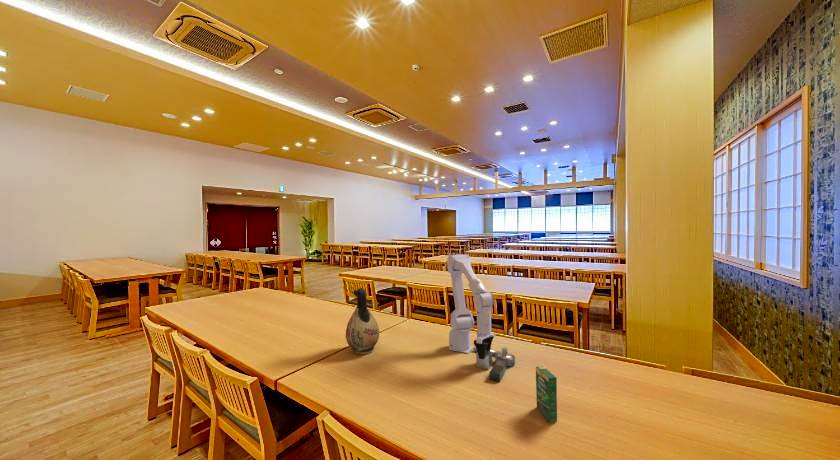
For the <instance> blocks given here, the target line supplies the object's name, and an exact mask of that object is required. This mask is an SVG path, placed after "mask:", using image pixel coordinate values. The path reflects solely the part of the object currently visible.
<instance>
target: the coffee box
mask: <svg viewBox="0 0 840 460" xmlns="http://www.w3.org/2000/svg"><path fill="white" fill-rule="evenodd" d="M557 380H558V379H557V376H555V374H553V373H552V372H551V371H550V370H548V369H547V368H546V367H545V366H539V365H538V366H535V388H536V391H535V393H536V408H537V409H538V410H539V412H540V413H541V414H542V415H543V416H544V418H545V420H546V421H548V423H556V422H558V400H557V399H558V397H557V396H558V395H557V392H558V389H557V386H558V385H557Z"/></svg>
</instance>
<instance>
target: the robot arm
mask: <svg viewBox="0 0 840 460" xmlns="http://www.w3.org/2000/svg"><path fill="white" fill-rule="evenodd" d="M446 267H447V271H448V274H450V279H451V286H452V294H453V300H454V307H455V309H454V310H453V311H452V312H451V313H450V327H451V329H450V331H449V334H448V350H449V351H454V352H458V353H465V354H468V353H470V352H471V350H473V348H474V347H476V349H477V352H478V356H479V359H485V353H486V350H488V351H490V350H492V349H491V348H492V342H493V340H494V337H495V333H493V332H492V306H493V305H494V303H495V298H494V295H493V293H492V292H490V291H489V290H487V289H486V287H485V286H484V284H483V282H482V280H481V279H480V278H477V277H476V275H475V272H474V269H473V267H472V260H471V257H470V255H469V254H468V253H465V254H449V255H448V257H447V259H446ZM462 275H464V276H465V278H466V280H467V281H468V288H469V290H470V293H472V295H473V297H474V299H473V303H474V305H475V311H476V339H474V340H473V344H474V346H473V345H471V331H472V329H473V328H474V326H475V319H474V317H473V314H472V310H469V309H468V308H467V306H466V305H467V304H466V298H465V297H466V296H465V291H464V282H463V278H462ZM477 352H476V353H477Z"/></svg>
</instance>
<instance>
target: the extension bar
mask: <svg viewBox="0 0 840 460" xmlns="http://www.w3.org/2000/svg"><path fill="white" fill-rule="evenodd" d="M472 351H473V352H476V353H477V349H476V347H475V346H473V348H472ZM490 351H492V356H495V354H497V353H500V352H502V350H501V351H500V350H492V349H490Z"/></svg>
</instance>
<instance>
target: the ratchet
mask: <svg viewBox="0 0 840 460" xmlns="http://www.w3.org/2000/svg"><path fill="white" fill-rule="evenodd" d="M494 363H495V364H494V365H492V368H490V369H491V370H489V381H492V382H497V383H501V381H502V379H503V377H504V376H505V374H506V371H507V370H508V369H510V368H514V367H515V366H516V356H515V355H514V354H513V353H510V352H509V348H508V347H505V346H502V348H501V352H500V353H497V354H495V355H494Z"/></svg>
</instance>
